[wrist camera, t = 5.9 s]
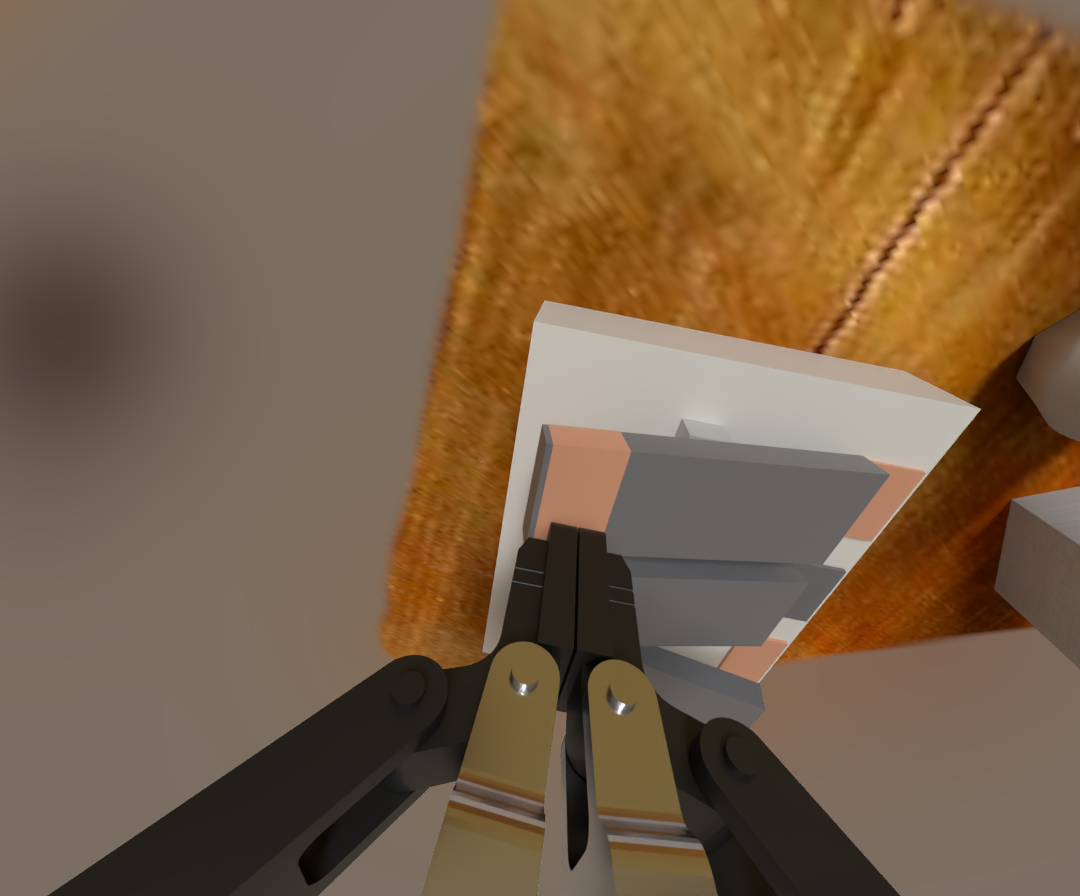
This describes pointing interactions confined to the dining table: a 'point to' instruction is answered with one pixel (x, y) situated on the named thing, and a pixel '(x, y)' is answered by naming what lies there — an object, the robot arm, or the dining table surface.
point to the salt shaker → (1055, 375)
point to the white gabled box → (1045, 566)
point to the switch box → (725, 429)
